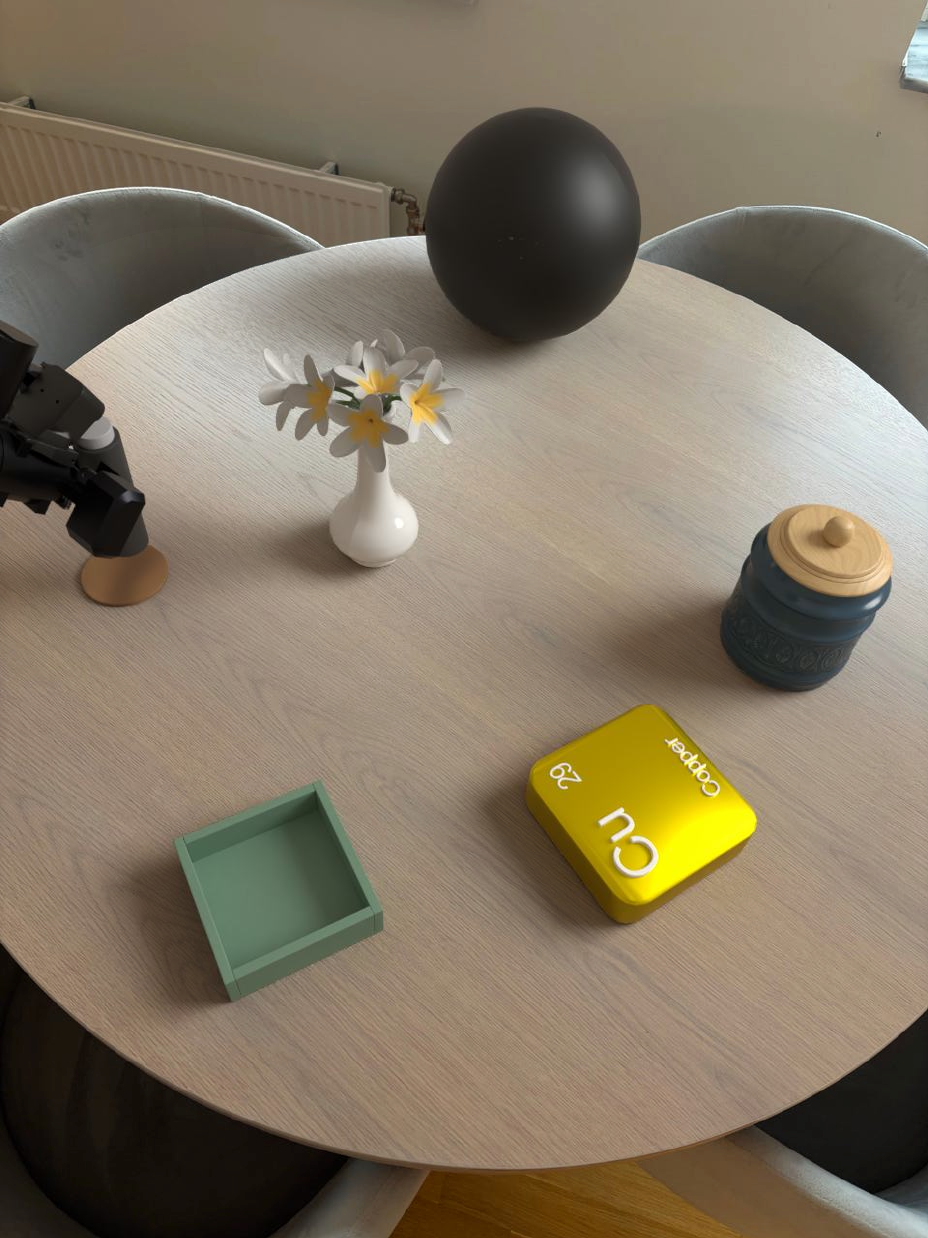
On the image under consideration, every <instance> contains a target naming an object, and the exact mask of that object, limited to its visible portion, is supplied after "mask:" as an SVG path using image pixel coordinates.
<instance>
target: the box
mask: <svg viewBox="0 0 928 1238" xmlns="http://www.w3.org/2000/svg"><path fill="white" fill-rule="evenodd" d="M172 843H173V846H174V850H175V851H176V854H177V857H178V859H179V862H180V866H181V869H182V870H183V873H184V876H185V879H186V881H187V884H188V887H189V890H190V893H191V896H192V899H193V901H194V904H195V907H196V909H197V913H198V915H199V918H200V921H201V923H202V926H203V929H204V932H205V935H206V937H207V938H206V939H207V940H208V943H209V946H210V949H211V951H212V954H213V958H214V960H215V962H216V965H217V968H218V971H219V974H220V977H221V979H222V982H223V984H224V987H225V990H226V993H227V994H228V995H227V996H228V997H229V1000H230V1002H232V1003H234V1002H235V1001H237V1000H240V999H242V998H244V997H246V996H248V995H250V994H253V993H254V992H257V991H259V990H261V989H263V988H265V987H267V986H269V985H271V984H273V983H276V982H277V981H280V980H282V979H283V978H286V977H288V976H290V975H292V974H294V973H296V972H298V971H301V970H302V969H305V968H307V967H309V966H312V965H313V964H315V963H317V962H319V961H321V960H324V959H326V958H328V957H329V956H331V955H334V954H336V953H338V952H340V951H342V950H344V949H346V948H348V947H350V946H352V945H353V946H354V944H357V943H359V942H361V941H363V940H365V939H367V938H369V937H372V936H374V935H376V934H378V933H380V932H383V931H384V909H383V906H382V904H381V902H380V900H379V898H378V896H377V894H376V891H375V889H374V887H373V885H372V883H371V882H370V879H369V876H368V875H367V873H366V871H365V869H364V867H363V865H362V862H361V860H360V858H359V856H358V854H357V852H356V850H355V848H354V846H353V844H352V842H351V839H350V837H349V835H348V833H347V831H346V829H345V826H344V825H343V822H342V819H341V818H340V817H339V814H338V813H337V810H336V808H335V806H334V804H333V802H332V799H331V797H330V795H329V794H328V791H327V789H326V787H325V785H324V783H323V781H322V779H318V780H316V781H313V782H312V783H308V784H306V785H304V786H302V787H301V786H300V787H298V788H297V789H294V790H291V791H289V792H287V793H284V794H282V795H280V796H276V797H275V798H272V799H269V800H267V801H264V802H262V803H260V804H258V805H255V806H252V807H250V808H248V809H245V810H243V811H240V812H238V813H235V814H232V815H230V816H228V817H226V818H223V819H221V820H218V821H215V822H214V823H211V824H209V825H206V826H203V827H201V828H199V829H197V830H194V831H192V832H188V833H186V834H184V835H182V836H180V837H177V838H174V839H173V840H172Z"/></svg>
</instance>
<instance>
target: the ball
mask: <svg viewBox="0 0 928 1238" xmlns="http://www.w3.org/2000/svg"><path fill="white" fill-rule="evenodd" d="M641 212H642V211H641V200H640V195H639V191H638V188H637V186H636V183H635V179H634V176H633V174H632V171H631V168H630V166H629V164H628V163H627V162H626V160H625V158H624V156H623V155H622V153H621V151H620V150H619V149H618V148H617V146H616V145H615V144H614V143H613V141H612V140H610V139H609V138H608V136H607V135H605V134H604V133H603V132H602V131H601V129H599V128H598V127H597V126H596V125H593V124H592V123H590V122H588V121H586V120H585V119H583V118H581V117H579V116H577V115H576V114H573V113H570V112H567V111H565V110H561V109H557V108H552V107H551V108H550V107H544V106H543V107H540V106H532V107H523V108H518V109H513V110H508V111H505V112H502V113H498V114H496V115H494V116H492V117H490V118H488V119H487V120H485V121H483V122H482V123H480V124H478V125H477V126H475V127H473V128H472V129H471V130H469V131H468V132H466V134H465V135H464V136H463V137H462V138H461V139H460V140H459V141H457V143H456V144H455V145H454V146H453V147H452V149H451V150H450V151H449V153H448V154H447V155H446V157H445V159H444V160H443V162H442V164H441V165H440V167H439V168H438V170H437V172H436V174H435V177H434V180H433V183H432V186H431V188H430V191H429V195H428V198H427V201H426V208H425V217H424V232H425V246H426V253H427V257H428V261H429V264H430V267H431V271H432V273H433V276H434V278H435V280H436V282H437V284H438V286H439V287H440V289H441V291H442V293H443V295H444V297H445V298H446V299H447V300H448V302H450V304H451V305H452V306H453V307H454V308H455V309H456V310H457V311H458V313H460V314H461V315H462V317H464V318H465V319H466V320H467V321H469V322H470V323H471V324H473V325H475V326H476V327H478V328H480V329H481V330H483V331H485V332H488V333H489V334H492V335H494V336H497V337H499V338H502V339H507V340H510V341H515V342H516V341H517V342H541V341H547V340H552V339H556V338H559V337H564V336H567V335H570V334H571V333H574V332H576V331H579V329H581V328H583V327H584V326H586V325H587V324H589V323H590V322H592V321H594V320H595V319H596V318H598V317H599V316H600V315H601V314H602V313H603V312H604V311H605V310H606V309H607V308H608V307H609V305H611V303H612V302H613V301H614V300H615V299H616V297H617V296H619V294H620V292H621V291H622V289H623V287H624V285H625V284H626V282H627V281H628V279H629V276H630V275H631V271H632V269H633V266H634V264H635V260H636V258H637V255H638V252H639V249H640V241H641V240H640V239H641V231H642V213H641Z"/></svg>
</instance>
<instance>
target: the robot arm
mask: <svg viewBox="0 0 928 1238" xmlns="http://www.w3.org/2000/svg"><path fill="white" fill-rule="evenodd" d="M39 347H40V344H39V342H38V341H36V340H35V339H34V338H33V337H31V336H30V335H28V334H27V333H25V331H22V330H20V329H18V328H17V327H15V326H13V325H11V324H9V323H8V322H6V321H3V320H2V319H0V508H2V509H3V508H4V506H5V504H6V502H7V501H13V502H19V503H21V504H23V505H25V506H26V507H27V509H29V510H30V511H31V512H32V513H34V514H38V515H43V516H46V514H47V512H48V509H49V508H50V506H51V504H52V502H53V503H54V504H56V505H57V506H58V507H60V508H61V509H62V510H65V511H69V510H70V508H71V506H72V504H73V505H74V506H73V509H72V511H71V513H70V515H69V517H68V518H67V521H66V523H65V528H66V531H67V534H68V535H69V536H68V537H70V538H71V539H72V540H73V541H74V542H76V543H77V544H78V545H80V546H81V547H82V548H83V549H84V550H85V551H86V552H88V553H89V554H90V555H91V556H94V557H99V558H107V559H114V558H117V557H119V555H120V553H121V551H122V549H123V548H124V546H125V544H126V542H127V540H128V538H129V536H130V534H131V532H132V530H133V528H134V526H135V524H136V522H137V520H138V518H139V516H140V514H141V512H143V510H144V508H145V506H146V504H147V502H146V495H145V493H144V492H142V491H141V490H140V489H138V488H137V487H136V486H135V485H134V486H133V485H132V484H130V483H129V482H128V481H126V480H125V479H123V478H121V476H120V475H119V474H118V473H117V472H115V471H114V470H113V469H112V468H110V467H109V466H108V465H106V464H105V463H104V462H102V461H100V463H99V465H98V467H97V470H96V472H95V471H94V470H92V469H91V468H89V467H82V468H81V469H80V468H79V465H78V462H77V458H78V456H79V453H77V452H76V451H75V450H73V448H70V447H72V445H74V444H75V443H76V442H77V441H78V440H79V439H80V438H81V437H82V436H83V434H84V433H85V432H86V431H87V430H88V429H89V428H90V427H91V425H92V424H93V423H94V422H95V421H98V420H99V419H100V418H101V417H102V416H104V414H105V411H106V405H105V403H104V402H103V401H102V400H101V399H99V397H97V396H96V395H95V394H94V393H93V392H92V390H90V389H89V388H88V387H87V386H86V385H85V384H84V383H83V382H82V381H80V379H78V378H76V377H75V376H74V375H72V374H70V372H69V371H67V370H65V369H64V368H62V367H61V366H60V365H57V364H51V363H47V362H45V361H42V362H40V366H39V365H37V364H35V363H33V360H34V358H35V356H36V354H37V351H38V350H39Z"/></svg>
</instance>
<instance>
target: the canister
mask: <svg viewBox="0 0 928 1238" xmlns="http://www.w3.org/2000/svg"><path fill="white" fill-rule="evenodd" d="M893 569H894V558H893V553H892V550H891V548H890V545H889V544H888V542H887V541H886V539H885V537H883V535H882V534H881V533H880V531H878V530H877V529H876V528H875V527H874V525H872V524H870V523H869V522H867V520H865V519H864V518H862V517H860V516H859V515H856V514H854V513H852V512H850V511H847V510H845V509H842V508H839V507H836V506H832V505H827V504H822V503H821V504H820V503H807V504H806V503H805V504H798V505H795V506H791V507H788V508H786V509H785V510H783V511H781V512H779V513H778V514H777V515H776V516H775V517H774V518H773V519H772V520H771V521H770V522H769V523H766V525H764V526H763V527H762V528H760V530H758V532H756V534H755V536H754V538H753V539H752V542H751V545H750V551H749V554H748V555H747V556H746V558H745V560H744V561H743V563H742V566H741V569H740V573H739V574H740V575H739V577H738V579H737V581H736V584H735V586H734V588H733V590H732V593H731V594H730V595H729V597H728V598H727V600H726V602H725V604H724V606H723V609H722V612H721V616H720V626H719V636H720V641H721V644H722V646H723V649H724V650H725V652H726V655H727V656H728V657H729V659H730V660H731V661H732V663H733V664H734V665H736V667H737V668H738V669H739V670H741V672H743V673H744V674H745V675H747V676H748V677H750V678H752V679H753V680H755V681H756V682H759V683H761V684H763V685H765V686H768V687H771V688H773V689H777V690H783V691H790V692H803V691H804V692H805V691H810V690H814V689H817V688H820V687H822V686H824V685H826V684H827V683H828V682H830V681H832V679H833V678H834V677H836V676H837V675H838V674H839V673H840V672H841V671H842V670H843V669H844V668H845V666H846V664H847V663H848V661H849V660H850V658H851V656H852V652H853V650H854V649H855V647H856V646H857V644H858V642H859V641H860V639H861V637H862V636H863V634H864V633H865V632H866V631H867V630H868V629H869V628H870V627H871V626H872V624H873V622H874V620H875V619H876V615H877V612H878V611H879V610H880V609H881V608H882V607H883V606H884V605H885V604H886V603H887V602H888V599H889V597H890V595H891V592H892V587H893V581H892V572H893Z"/></svg>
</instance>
